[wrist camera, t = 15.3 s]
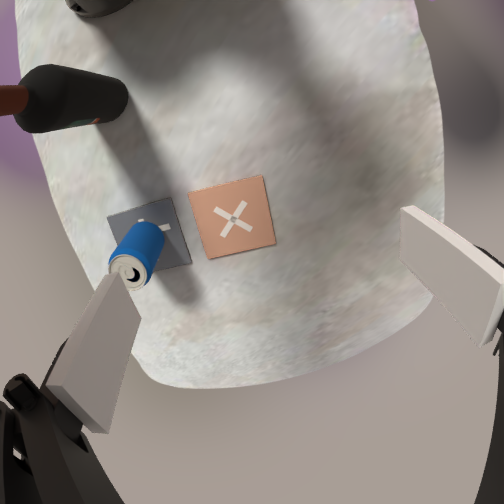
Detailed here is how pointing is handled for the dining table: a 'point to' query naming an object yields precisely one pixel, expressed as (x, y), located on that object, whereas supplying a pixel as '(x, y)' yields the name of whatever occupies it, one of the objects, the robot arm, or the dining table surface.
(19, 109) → the wine bottle
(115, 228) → the slate tile
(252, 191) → the terracotta tile
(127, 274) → the beverage can
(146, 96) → the dining table surface
